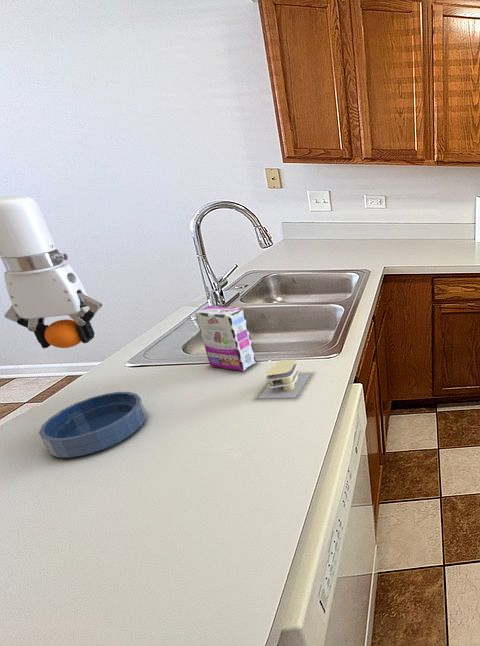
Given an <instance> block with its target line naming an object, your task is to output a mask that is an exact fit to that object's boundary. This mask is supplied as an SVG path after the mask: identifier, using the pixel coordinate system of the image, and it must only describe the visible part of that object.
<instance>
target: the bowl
mask: <svg viewBox="0 0 480 646" xmlns="http://www.w3.org/2000/svg"><path fill="white" fill-rule="evenodd" d="M146 420H147V411H146V409H145V406H144V403H143V401H142V398H141V397H140V396H139V395H138V394H137V393H136V392H133V391H132V392H131V391H115V392H107V393H103V394H99V395H96V396H92V397H91V396H90V397H89V398H85V399H84V400H80V401H78V402H75V403H73V404H71V405H69V406H67V407H65V408H62V409H61V410H60V411H58V412H57V413H55V414H53V415H52V416H50V417H49V418H48V419H47V420H46V421H45V422H44V423H43V424H42V425H41V427H40V429H39V431H38V434H39V436H40V438H41V440H42V442H43V445H44V446H45V448H46V451H48V453H49V455H51V456H53V457H56V458H75V457H80V456H88V455H91V454H94V453H97V452H100V451H103V450H106V449H108V448H110V447H112V446H114V445H116V444H118V443H120V442H122V441H123V440H126V439H127V438H128V437H129V436H131V435H132V434H133V433H135V432H136V431H137V430H138V429H140V428H141V427H142V425H143V424H144V423H145V421H146Z"/></svg>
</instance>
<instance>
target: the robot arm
mask: <svg viewBox="0 0 480 646" xmlns="http://www.w3.org/2000/svg"><path fill="white" fill-rule="evenodd" d="M68 259H69V257H68V255H67V253H61V252H60V251H59V250H58V249H57V247H56V244H55V242H54V239H53V237H52V235H51V232H50V230H49V228H48V225H47V223H46V220H45V218H44V216H43V213H42V210H41V208H40V206H39V204H38V202H37V201H36V200H35V199H34V198H32V197H29V196H24V195H12V196H11V195H9V196H0V260H1V262H2V263H3V266H4V268H5V271H4V273H3V275H4V276H3V277H4V283H5V287H6V291H7V294H8V297H9V300H10V303H11V306H10V307H9V309H7V311H6V312H5V314H4V316H3V317H4V318H6V319H7V320H10V321H12V322H14V323H17V325H20V326H21V327H25V328H27V330H28V331H29V332H33V334H34V336H35V338H36V340H37V342H38V344H40V346H41V348H42V349H48V348H49V347H50V346H51V345H50V344H49V343H48V342H47V341H46V339H45V336H44V334H45V330H46V328H47V327H48V326H49V324H45V322H46V321H45V320H46V318H52V317H61V316H69V317H70V319H71V320H74V321H75V322H76V323H77V324H78V326H77V327H76V330H77V332H78V334H79V336H80V339H81V343H82V344H88V343H89V342H90V341H92V340H93V339H94V338H95V331H94V327H93V326H92V323H91V321H92V320H93V318H94V317H95V316H96V314H97V313H98V311H99V310H100V309H101V308H103V303H102V302H99V301H98V300H96V299H94V298H92V297H90V296H89V295H88V293H87V290H86V288H85V287H84V284H83V283H82V281H81V280H80V278H79V276H78V274H77V273H76V272H75V271H74V269H73V268H72V267H71V265H70V264H69V263H65V262H64V261H68ZM63 262H64V263H63ZM86 307H88V310H87V311H86V310H85V309H84V308H86Z"/></svg>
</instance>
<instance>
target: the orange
mask: <svg viewBox="0 0 480 646" xmlns="http://www.w3.org/2000/svg"><path fill="white" fill-rule="evenodd" d="M77 326H78V324H77V323H76V322H75V321H74V320H73V319H68V318H67V319H58V320H56V321H53V322H52V323H50V324H48V327H47V328H46V330H45V334H44V336H45V339H46V341H47V342H48V343H49V344H50V346H52V347H55V348H59V349H60V348H61V349H69V348H72V347H75V346H77V345H79V344H80V343H82V341H81V339H80V336H79V334H78V332H77V330H76V327H77Z"/></svg>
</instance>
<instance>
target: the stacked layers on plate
mask: <svg viewBox="0 0 480 646" xmlns="http://www.w3.org/2000/svg"><path fill="white" fill-rule="evenodd" d="M296 362H297V359H280V360H279V361H277V362H276V363H275V364H273V365H272V366H270V367H269V368H268V369H266V370H265V372H264V373H265V375H266V377H265V378H266V379H267V380H268V383H267V386H266V387H265V389H264V390H263V391H262V392H261V394H260V395H259V396H258V399H289V398H290V399H291V398H293V399H294V398H295V399H296V398H297V396H298V395H299V394H300V392H301V390H302V388H303V387H304V385H305V384H306V382H307V381H308V380H309V378H310V376H311V373H309V374H306V373H304V374H303V373H302V374H299V370H297V367H298V364H297V363H296Z"/></svg>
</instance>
